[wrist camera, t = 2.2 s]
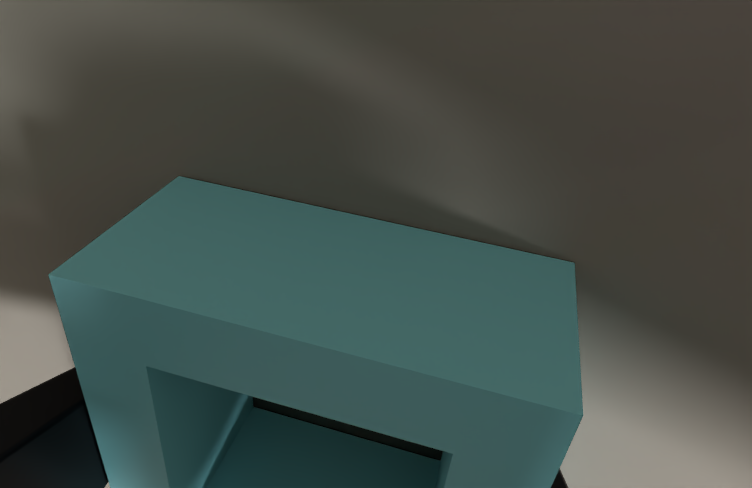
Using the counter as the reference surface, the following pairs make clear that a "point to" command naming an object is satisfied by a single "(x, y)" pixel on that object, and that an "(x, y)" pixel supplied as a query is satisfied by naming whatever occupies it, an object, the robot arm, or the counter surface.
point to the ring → (316, 348)
